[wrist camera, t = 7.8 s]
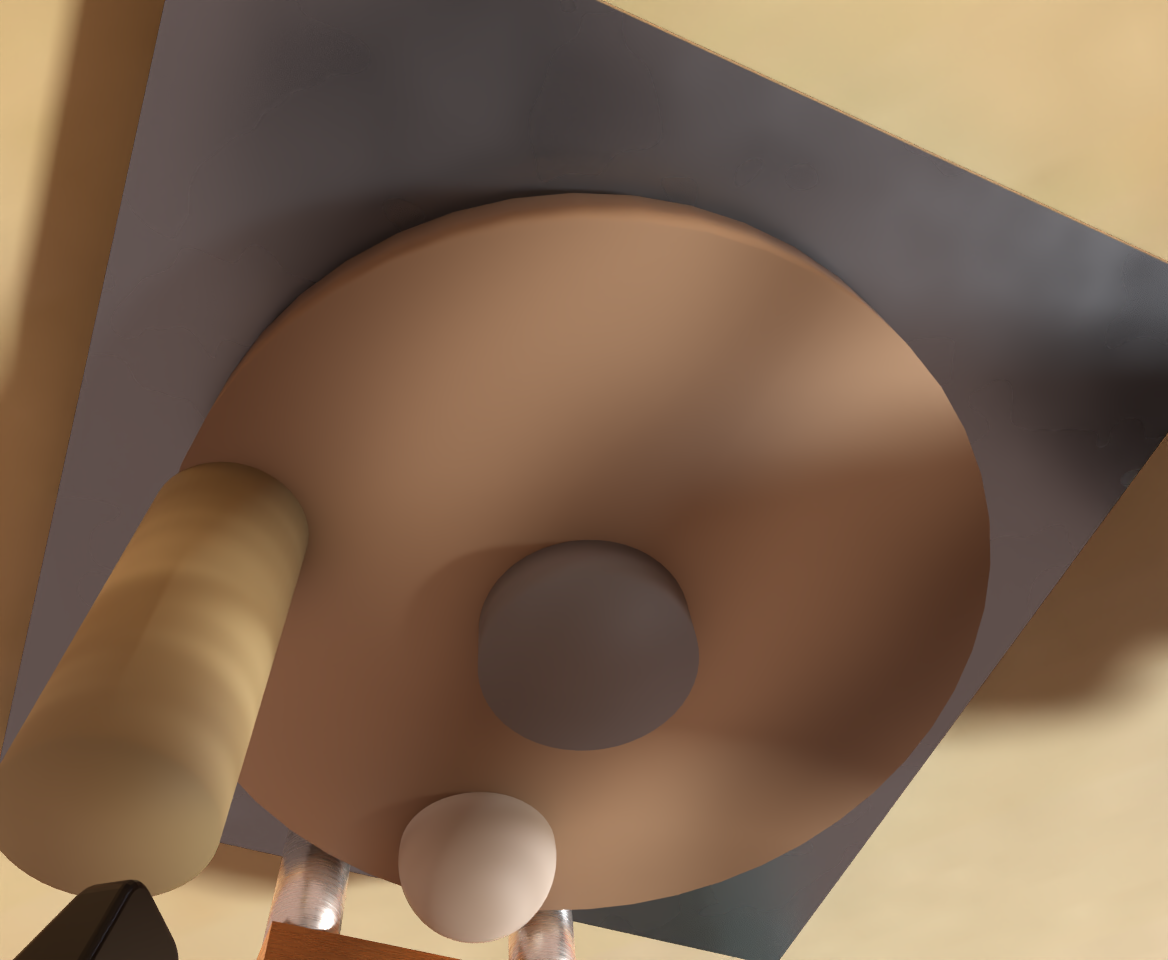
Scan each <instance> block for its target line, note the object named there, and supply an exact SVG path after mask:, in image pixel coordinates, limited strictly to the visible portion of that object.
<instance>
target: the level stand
mask: <svg viewBox="0 0 1168 960" xmlns="http://www.w3.org/2000/svg"><path fill="white" fill-rule="evenodd" d="M566 193H589V194H614V195H634V196H640V197H645V198H651V199H657V200H663V201H668V202H674V203H680V204H685V205H691V206H694V207H697V208H700V209H703V210H706V211H709V212H713V213H716V214H719V215H722V216H725V217H728V218H731V219H734V220H738V221H741V222H744V223H746V224H748V225H750V226H752V227H754V228H756V229H759V230H761V231H763V232H765V233H767V234H769V235H771V236H773V237H775V238H777V239H779V240H781V241H783V242H785V243H787V244H790V245H792V246H794V247H795V248H797V249H798V250H800V251H801V252H803V253H804V254H806V255H807V256H809V257H810V258H812V259H813V260H814V261H816V262H817V263H819V264H820V265H822V266H823V267H825V268H826V269H828V270H829V271H831V272H832V273H834V274H835V275H837V276H838V277H839V278H840V279H841V280H842V281H844V282H845V283H846V284H847V285H848V286H849V287H850V288H851V289H852V290H853V291H854V292H855V293H857V294H858V295H859V296H860V297H861V298H862V299H863V300H864V301H865V302H866V303H867V304H868V305H870V306H871V307H872V308H873V309H874V310H875V311H876V312H877V313H878V314H879V315H880V316H881V317H882V318H883V319H884V320H885V322H886V323H887V324H888V325H889V326H890V327H891V328H892V329H893V330H894V331H895V332H896V333H897V334H898V335H899V336H900V337H901V338H902V339H903V340H904V341H905V342H906V344H907V345H908V346H909V347H910V348H911V349H912V351H913V352H914V353H915V354H916V356H917V357H918V358H919V359H920V361H921V362H922V363H923V364H924V366H925V367H926V368H927V369H928V371H929V372H930V373H931V375H932V376H933V377H934V378H935V380H936V381H937V382H938V383H939V385H940V386H941V387H942V389H943V391H944V393H945V394H946V396H947V398H948V400H949V402H950V403H951V405H952V407H953V409H954V411H955V412H956V414H957V416H958V418H959V420H960V421H961V423H962V425H963V427H964V429H965V431H966V433H967V436H968V439H969V442H970V445H971V447H972V450H973V453H974V456H975V459H976V461H977V464H978V467H979V470H980V472H981V476H982V481H983V487H984V492H985V498H986V503H987V509H988V514H989V520H990V572H989V579H988V587H987V594H986V601H985V609H984V612H983V616H982V619H981V622H980V626H979V629H978V633H977V636H976V640H975V643H974V647H973V650H972V653H971V655H970V657H969V659H968V661H967V664H966V666H965V668H964V670H963V673H962V675H961V677H960V679H959V682H958V684H957V686H956V688H955V690H954V692H953V694H952V695H951V697H950V699H949V700H948V702H947V704H946V705H945V707H944V708H943V710H942V712H941V713H940V715H939V717H938V718H937V720H936V721H935V723H934V725H933V726H932V728H931V729H930V730H929V732H928V733H927V734H926V735H925V737H924V738H923V739H922V740H921V742H920V743H919V744H918V745H917V747H916V748H915V749H914V750H913V752H912V753H911V754H910V756H909V757H908V758H907V759H906V761H905V762H904V763H903V764H902V765H901V766H900V767H899V768H898V769H897V770H896V771H895V772H894V773H893V774H892V775H891V776H890V777H889V778H888V779H887V780H886V781H885V782H884V783H883V784H882V785H881V786H880V787H879V788H878V789H877V790H876V791H875V792H874V793H873V794H871V795H870V796H869V797H868V798H866V799H865V800H864V801H863V802H861V803H860V804H859V805H858V806H856V807H855V808H854V809H853V810H851V811H850V812H849V813H848V814H846V815H845V816H844V817H843V818H841V819H840V820H839V821H837V822H836V823H834V824H833V825H831V826H830V827H828V828H827V829H825V830H824V831H822V832H820V833H819V834H817V835H816V836H814V837H813V838H811V839H810V840H808V841H807V842H805V843H803V844H802V845H800V846H798V847H796V848H794V849H792V850H790V851H788V852H787V853H785V854H783V855H781V856H779V857H777V858H775V859H773V860H771V861H769V862H767V863H765V864H763V865H761V866H759V867H756V868H754V869H751V870H749V871H746V872H744V873H741V874H739V875H737V876H734V877H732V878H729V879H727V880H724V881H722V882H719V883H716V884H712V885H709V886H706V887H702V888H699V889H696V890H692V891H689V892H686V893H682V894H679V895H675V896H670V897H665V898H660V899H655V900H651V901H646V902H641V903H636V904H630V905H621V906H612V907H603V908H595V909H578V910H538V911H537V913H536V914H535V915H534V916H533V917H532V918H531V919H530V920H529V921H528V922H527V923H526V924H525V925H524V926H522V927H521V928H520V929H518V930H517V931H515V932H513V933H512V934H510V935H508V945H509V960H576V957H575V944H574V931H573V921H575V922H579V923H584V924H588V925H593V926H597V927H602V928H606V929H611V930H615V931H620V932H624V933H629V934H633V935H638V936H642V937H647V938H651V939H656V940H660V941H665V942H669V943H674V944H678V945H683V946H687V947H692V948H696V949H701V950H705V951H710V952H714V953H719V954H723V955H728V956H732V957H737V958H741V959H746V960H780V958H781V957H782V956H783V954H784V953H785V952H786V950H787V949H788V948H789V946H790V945H791V944H792V942H793V941H794V939H795V938H796V937H797V935H798V934H799V933H800V931H801V930H802V929H803V927H804V926H805V924H806V923H807V922H808V920H809V919H810V918H811V916H812V915H813V914H814V912H815V911H816V910H817V908H818V907H819V905H820V904H821V903H822V901H823V900H824V899H825V897H826V896H827V895H828V893H829V892H830V891H831V889H832V888H833V886H834V885H835V884H836V882H837V881H838V880H839V878H840V877H841V876H842V874H843V873H844V872H845V870H846V869H847V867H848V866H849V865H850V863H851V862H852V861H853V859H854V858H855V857H856V855H857V854H858V853H859V851H860V850H861V848H862V847H863V846H864V844H865V843H866V842H867V840H868V839H869V838H870V836H871V835H872V834H873V832H874V831H875V829H876V828H877V827H878V825H879V824H880V823H881V821H882V820H883V819H884V817H885V816H886V815H887V813H888V812H889V810H890V809H891V808H892V806H893V805H894V804H895V802H896V801H897V800H898V798H899V797H900V796H901V794H902V793H903V791H904V790H905V789H906V787H907V786H908V785H909V783H910V782H911V781H912V779H913V778H914V777H915V775H916V774H917V772H918V771H919V770H920V768H921V767H922V766H923V764H924V763H925V762H926V760H927V759H928V757H929V756H930V755H931V753H932V752H933V751H934V749H935V748H936V747H937V745H938V744H939V743H940V741H941V740H942V738H943V737H944V736H945V734H946V733H947V732H948V730H949V729H950V728H951V726H952V725H953V724H954V722H955V721H956V719H957V718H958V717H959V715H960V714H961V713H962V711H963V710H964V709H965V707H966V706H967V705H968V703H969V702H970V700H971V699H972V698H973V696H974V695H975V694H976V692H977V691H978V690H979V688H980V687H981V686H982V684H983V683H984V681H985V680H986V679H987V677H988V676H989V675H990V673H991V672H992V671H993V669H994V668H995V667H996V665H997V664H998V662H999V661H1000V660H1001V658H1002V657H1003V656H1004V654H1005V653H1006V652H1007V650H1008V649H1009V648H1010V646H1011V645H1012V643H1013V642H1014V641H1015V639H1016V638H1017V637H1018V635H1019V634H1020V633H1021V631H1022V630H1023V629H1024V627H1025V626H1026V624H1027V623H1028V622H1029V620H1030V619H1031V618H1032V616H1033V615H1034V614H1035V612H1036V611H1037V609H1038V608H1039V607H1040V605H1041V604H1042V603H1043V601H1044V600H1045V599H1046V597H1047V596H1048V595H1049V593H1050V592H1051V590H1052V589H1053V588H1054V586H1055V585H1056V584H1057V582H1058V581H1059V580H1060V578H1061V577H1062V576H1063V574H1064V573H1065V571H1066V570H1067V569H1068V567H1069V566H1070V565H1071V563H1072V562H1073V561H1074V559H1075V558H1076V557H1077V555H1078V554H1079V552H1080V551H1081V550H1082V548H1083V547H1084V546H1085V544H1086V543H1087V542H1088V540H1089V539H1090V538H1091V536H1092V535H1093V533H1094V532H1095V531H1096V529H1097V528H1098V527H1099V525H1100V524H1101V523H1102V521H1103V520H1104V519H1105V517H1106V516H1107V514H1108V513H1109V512H1110V510H1111V509H1112V508H1113V506H1114V505H1115V504H1116V502H1117V501H1118V500H1119V498H1120V497H1121V495H1122V494H1123V493H1124V491H1125V490H1126V489H1127V487H1128V486H1129V485H1130V483H1131V482H1132V481H1133V479H1134V478H1135V476H1136V475H1137V474H1138V472H1139V471H1140V470H1141V468H1142V467H1143V466H1144V464H1145V463H1146V462H1147V460H1148V459H1149V457H1150V456H1151V455H1152V453H1153V452H1154V451H1155V449H1156V448H1157V447H1158V445H1159V444H1160V442H1161V441H1162V440H1163V438H1164V437H1165V436H1166V434H1167V433H1168V261H1166V260H1164V259H1162V258H1159V257H1157V256H1155V255H1153V254H1151V253H1149V252H1146V251H1144V250H1142V249H1140V248H1138V247H1136V246H1133V245H1131V244H1129V243H1127V242H1125V241H1123V240H1120V239H1118V238H1116V237H1114V236H1112V235H1110V234H1107V233H1105V232H1103V231H1101V230H1099V229H1097V228H1094V227H1092V226H1090V225H1088V224H1086V223H1084V222H1081V221H1079V220H1077V219H1075V218H1073V217H1071V216H1068V215H1066V214H1064V213H1062V212H1060V211H1058V210H1055V209H1053V208H1051V207H1049V206H1047V205H1045V204H1042V203H1040V202H1038V201H1036V200H1034V199H1032V198H1029V197H1027V196H1025V195H1023V194H1021V193H1019V192H1016V191H1014V190H1012V189H1010V188H1008V187H1006V186H1003V185H1001V184H999V183H997V182H995V181H993V180H990V179H988V178H986V177H984V176H982V175H980V174H977V173H975V172H973V171H971V170H969V169H967V168H964V167H962V166H960V165H958V164H956V163H954V162H951V161H949V160H947V159H945V158H943V157H941V156H938V155H936V154H934V153H932V152H930V151H928V150H925V149H923V148H921V147H919V146H917V145H915V144H912V143H910V142H908V141H906V140H904V139H902V138H899V137H897V136H895V135H893V134H891V133H889V132H886V131H884V130H882V129H880V128H878V127H876V126H873V125H871V124H869V123H867V122H865V121H863V120H860V119H858V118H856V117H854V116H852V115H850V114H847V113H845V112H843V111H841V110H839V109H837V108H834V107H832V106H830V105H828V104H826V103H824V102H821V101H819V100H817V99H815V98H813V97H811V96H808V95H806V94H804V93H802V92H800V91H798V90H795V89H793V88H791V87H789V86H787V85H785V84H782V83H780V82H778V81H776V80H774V79H772V78H769V77H767V76H765V75H763V74H761V73H759V72H756V71H754V70H752V69H750V68H748V67H746V66H743V65H741V64H739V63H737V62H735V61H733V60H730V59H728V58H726V57H724V56H722V55H720V54H717V53H715V52H713V51H711V50H709V49H707V48H704V47H702V46H700V45H698V44H696V43H694V42H691V41H689V40H687V39H685V38H683V37H681V36H678V35H676V34H674V33H672V32H670V31H668V30H665V29H663V28H661V27H659V26H657V25H655V24H652V23H650V22H648V21H646V20H644V19H642V18H639V17H637V16H635V15H633V14H631V13H629V12H626V11H624V10H622V9H620V8H618V7H616V6H613V5H611V4H609V3H607V2H605V1H603V0H165V3H164V8H163V13H162V17H161V22H160V26H159V31H158V36H157V40H156V45H155V49H154V54H153V58H152V63H151V68H150V72H149V77H148V81H147V86H146V91H145V95H144V100H143V104H142V109H141V114H140V118H139V123H138V127H137V132H136V137H135V141H134V146H133V150H132V155H131V159H130V164H129V169H128V173H127V178H126V182H125V187H124V192H123V196H122V201H121V205H120V210H119V215H118V219H117V224H116V228H115V233H114V238H113V242H112V247H111V251H110V256H109V261H108V265H107V270H106V274H105V279H104V283H103V288H102V293H101V297H100V302H99V306H98V311H97V316H96V320H95V325H94V329H93V334H92V339H91V343H90V348H89V352H88V357H87V362H86V366H85V371H84V375H83V380H82V384H81V389H80V394H79V398H78V403H77V407H76V412H75V417H74V421H73V426H72V430H71V435H70V440H69V444H68V449H67V453H66V458H65V463H64V467H63V472H62V476H61V481H60V485H59V490H58V495H57V499H56V504H55V508H54V513H53V518H52V522H51V527H50V531H49V536H48V541H47V545H46V550H45V554H44V559H43V564H42V568H41V573H40V577H39V582H38V586H37V591H36V596H35V600H34V605H33V609H32V614H31V619H30V623H29V628H28V632H27V637H26V642H25V646H24V651H23V655H22V660H21V665H20V669H19V674H18V678H17V683H16V688H15V692H14V697H13V701H12V706H11V710H10V715H9V720H8V724H7V729H6V733H5V738H4V743H3V747H2V752H1V756H0V763H1V762H2V760H3V758H4V756H5V755H6V753H7V751H8V750H9V748H10V746H11V744H12V743H13V741H14V739H15V738H16V736H17V734H18V732H19V731H20V729H21V727H22V726H23V724H24V722H25V720H26V719H27V717H28V715H29V714H30V712H31V710H32V708H33V707H34V705H35V703H36V702H37V700H38V698H39V696H40V695H41V693H42V691H43V690H44V688H45V686H46V684H47V683H48V681H49V679H50V678H51V676H52V674H53V672H54V671H55V669H56V667H57V666H58V664H59V662H60V660H61V659H62V657H63V655H64V654H65V652H66V650H67V648H68V647H69V645H70V643H71V642H72V640H73V638H74V636H75V635H76V633H77V631H78V630H79V628H80V626H81V624H82V623H83V621H84V619H85V618H86V616H87V614H88V612H89V611H90V609H91V607H92V606H93V604H94V602H95V600H96V599H97V597H98V595H99V594H100V592H101V590H102V588H103V587H104V585H105V583H106V581H107V580H108V578H109V576H110V575H111V573H112V571H113V569H114V568H115V566H116V564H117V563H118V561H119V559H120V557H121V556H122V554H123V552H124V551H125V549H126V547H127V545H128V544H129V542H130V540H131V539H132V537H133V535H134V533H135V532H136V530H137V528H138V527H139V525H140V523H141V521H142V520H143V518H144V516H145V515H146V513H147V511H148V509H149V508H150V506H151V504H152V503H153V501H154V499H155V497H156V496H157V494H158V492H159V491H160V490H161V488H162V487H163V486H164V484H165V483H166V482H167V481H169V480H170V479H171V478H172V477H173V476H175V475H176V474H178V473H179V470H180V467H181V464H182V462H183V460H184V458H185V456H186V454H187V452H188V450H189V449H190V447H191V445H192V443H193V441H194V439H195V437H196V435H197V434H198V432H199V430H200V428H201V426H202V424H203V422H204V420H205V419H206V417H207V415H208V413H209V411H210V410H211V408H212V406H213V404H214V403H215V401H216V399H217V397H218V396H219V394H220V392H221V391H222V389H223V387H224V385H225V384H226V382H227V380H228V378H229V377H230V375H231V373H232V372H233V371H234V369H235V368H236V367H237V365H238V364H239V363H240V361H241V360H242V359H243V357H244V356H245V355H246V353H247V352H248V351H249V349H250V348H251V347H252V345H253V344H254V343H255V341H256V340H257V339H258V337H259V336H260V335H261V333H262V332H263V331H264V330H265V329H266V328H267V327H268V326H269V325H270V324H271V323H272V322H273V321H274V320H275V319H276V318H277V317H278V316H279V315H280V314H281V313H282V312H283V311H284V310H285V309H286V308H287V307H288V306H289V305H290V304H291V303H292V302H294V301H295V300H296V299H297V298H298V297H299V296H300V295H301V294H302V293H303V292H305V291H306V290H307V289H309V288H310V287H311V286H313V285H314V284H315V283H317V282H318V281H319V280H321V279H322V278H324V277H325V276H326V275H328V274H329V273H330V272H332V271H333V270H334V269H336V268H337V267H339V266H340V265H341V264H343V263H344V262H345V261H347V260H349V259H350V258H352V257H354V256H356V255H358V254H360V253H362V252H363V251H365V250H367V249H369V248H371V247H373V246H374V245H376V244H378V243H380V242H382V241H384V240H386V239H387V238H389V237H391V236H393V235H395V234H397V233H399V232H402V231H404V230H407V229H410V228H412V227H415V226H418V225H420V224H423V223H426V222H428V221H431V220H434V219H436V218H439V217H442V216H444V215H447V214H450V213H452V212H456V211H460V210H464V209H469V208H473V207H477V206H482V205H486V204H491V203H495V202H499V201H504V200H508V199H512V198H523V197H534V196H544V195H555V194H566ZM220 843H224V844H229V845H233V846H238V847H242V848H247V849H251V850H256V851H260V852H265V853H269V854H274V855H278V856H282V861H281V865H280V869H279V874H278V878H277V883H276V887H275V891H274V896H273V900H272V905H271V909H270V914H269V918H268V922H267V927H266V931H265V936H264V940H263V944H262V948H261V950H260V953H259V955H258V957H257V960H460V959H455V958H450V957H445V956H441V955H436V954H431V953H426V952H421V951H416V950H411V949H407V948H402V947H397V946H392V945H387V944H382V943H378V942H373V941H368V940H363V939H358V938H353V937H349V936H344V935H340V930H341V924H342V917H343V910H344V904H345V897H346V891H347V884H348V878H349V871H350V872H355V873H359V874H364V875H368V876H373V875H370V874H368V873H366V872H364V871H362V870H360V869H358V868H356V867H354V866H351V865H349V864H347V863H345V862H343V861H341V860H339V859H337V858H335V857H333V856H331V855H329V854H327V853H326V852H324V851H323V850H321V849H319V848H318V847H316V846H315V845H313V844H312V843H310V842H309V841H307V840H305V839H304V838H302V837H301V836H299V835H298V834H296V833H294V832H293V831H291V830H290V829H289V828H287V827H286V826H285V825H284V824H283V823H281V822H280V821H279V820H278V819H276V818H275V817H274V816H273V815H272V814H270V813H269V812H268V811H267V810H266V809H264V808H263V807H262V806H261V805H259V804H258V803H257V802H256V801H255V800H254V799H253V798H252V797H251V796H250V795H249V794H248V793H247V792H246V791H245V790H244V788H243V787H242V786H241V785H240V784H239V783H238V782H237V785H236V788H235V792H234V795H233V799H232V802H231V805H230V809H229V812H228V815H227V819H226V822H225V825H224V829H223V832H222V836H221V839H220ZM373 877H376V876H373ZM377 878H379V877H377Z"/></svg>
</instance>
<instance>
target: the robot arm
mask: <svg viewBox="0 0 1168 960" xmlns="http://www.w3.org/2000/svg"><path fill="white" fill-rule="evenodd" d="M13 960H178V952H177V948H176V944H175V942H174V939H173V937H172V935H171V933H170V931H169V929H168V927H167V925H166V923H165V921H164V919H163V918H162V916H161V914H160V912H159V910H158V908H157V906H156V904H155V902H154V900H153V898H152V896H151V894H150V892H149V890H148V889H147V887H146V886H145V885H144V884H143V883H142V882H140V881H138V880H133V879H130V880H123V881H116V882H109V883H103V884H96V885H92V886H90V887H87V888H86V889H84V890H83V891H82V892H80V893H79V894H78V895H77V896H76V897H75V898H74V899H73V900H72V901H71V902H70V903H69V904H68V905H67V906H66V907H65V908H64V909H63V910H62V911H61V912H60V913H59V914H58V915H57V916H56V917H55V918H54V919H53V920H52V921H51V922H50V923H49V924H48V925H47V926H46V927H45V928H44V929H43V930H42V931H41V932H40V933H39V934H38V935H37V936H36V937H35V938H34V939H33V940H32V941H31V942H30V943H29V944H28V945H27V946H26V947H25V948H24V949H23V950H22V951H21V952H20V953H19V954H18V955H17V956H16V957H15V958H14V959H13Z"/></svg>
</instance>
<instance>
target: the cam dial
mask: <svg viewBox="0 0 1168 960" xmlns="http://www.w3.org/2000/svg"><path fill="white" fill-rule="evenodd" d="M989 572H990V520H989V514H988V509H987V503H986V498H985V492H984V487H983V481H982V476H981V472H980V470H979V467H978V464H977V461H976V459H975V456H974V453H973V450H972V447H971V445H970V442H969V439H968V436H967V433H966V431H965V429H964V427H963V425H962V423H961V421H960V420H959V418H958V416H957V414H956V412H955V411H954V409H953V407H952V405H951V403H950V402H949V400H948V398H947V396H946V394H945V393H944V391H943V389H942V387H941V386H940V385H939V383H938V382H937V381H936V380H935V378H934V377H933V376H932V375H931V373H930V372H929V371H928V369H927V368H926V367H925V366H924V364H923V363H922V362H921V361H920V359H919V358H918V357H917V356H916V354H915V353H914V352H913V351H912V349H911V348H910V347H909V346H908V345H907V344H906V342H905V341H904V340H903V339H902V338H901V337H900V336H899V335H898V334H897V333H896V332H895V331H894V330H893V329H892V328H891V327H890V326H889V325H888V324H887V323H886V322H885V320H884V319H883V318H882V317H881V316H880V315H879V314H878V313H877V312H876V311H875V310H874V309H873V308H872V307H871V306H870V305H868V304H867V303H866V302H865V301H864V300H863V299H862V298H861V297H860V296H859V295H858V294H857V293H855V292H854V291H853V290H852V289H851V288H850V287H849V286H848V285H847V284H846V283H845V282H844V281H842V280H841V279H840V278H839V277H838V276H837V275H835V274H834V273H832V272H831V271H829V270H828V269H826V268H825V267H823V266H822V265H820V264H819V263H817V262H816V261H814V260H813V259H812V258H810V257H809V256H807V255H806V254H804V253H803V252H801V251H800V250H798V249H797V248H795V247H794V246H792V245H790V244H787V243H785V242H783V241H781V240H779V239H777V238H775V237H773V236H771V235H769V234H767V233H765V232H763V231H761V230H759V229H756V228H754V227H752V226H750V225H748V224H746V223H744V222H741V221H738V220H734V219H731V218H728V217H725V216H722V215H719V214H716V213H713V212H709V211H706V210H703V209H700V208H697V207H694V206H691V205H685V204H680V203H674V202H668V201H663V200H657V199H651V198H645V197H640V196H634V195H614V194H589V193H566V194H555V195H544V196H534V197H523V198H512V199H508V200H504V201H499V202H495V203H491V204H486V205H482V206H477V207H473V208H469V209H464V210H460V211H456V212H452V213H450V214H447V215H444V216H442V217H439V218H436V219H434V220H431V221H428V222H426V223H423V224H420V225H418V226H415V227H412V228H410V229H407V230H404V231H402V232H399V233H397V234H395V235H393V236H391V237H389V238H387V239H386V240H384V241H382V242H380V243H378V244H376V245H374V246H373V247H371V248H369V249H367V250H365V251H363V252H362V253H360V254H358V255H356V256H354V257H352V258H350V259H349V260H347V261H345V262H344V263H343V264H341V265H340V266H339V267H337V268H336V269H334V270H333V271H332V272H330V273H329V274H328V275H326V276H325V277H324V278H322V279H321V280H319V281H318V282H317V283H315V284H314V285H313V286H311V287H310V288H309V289H307V290H306V291H305V292H303V293H302V294H301V295H300V296H299V297H298V298H297V299H296V300H295V301H294V302H292V303H291V304H290V305H289V306H288V307H287V308H286V309H285V310H284V311H283V312H282V313H281V314H280V315H279V316H278V317H277V318H276V319H275V320H274V321H273V322H272V323H271V324H270V325H269V326H268V327H267V328H266V329H265V330H264V331H263V332H262V333H261V335H260V336H259V337H258V339H257V340H256V341H255V343H254V344H253V345H252V347H251V348H250V349H249V351H248V352H247V353H246V355H245V356H244V357H243V359H242V360H241V361H240V363H239V364H238V365H237V367H236V368H235V369H234V371H233V372H232V373H231V375H230V377H229V378H228V380H227V382H226V384H225V385H224V387H223V389H222V391H221V392H220V394H219V396H218V397H217V399H216V401H215V403H214V404H213V406H212V408H211V410H210V411H209V413H208V415H207V417H206V419H205V420H204V422H203V424H202V426H201V428H200V430H199V432H198V434H197V435H196V437H195V439H194V441H193V443H192V445H191V447H190V449H189V450H188V452H187V454H186V456H185V458H184V460H183V462H182V464H181V467H180V470H179V473H178V474H176V475H175V476H173V477H172V478H171V479H170V480H169V481H167V482H166V483H165V484H164V486H163V487H162V488H161V490H160V491H159V492H158V494H157V496H156V497H155V499H154V501H153V503H152V504H151V506H150V508H149V509H148V511H147V513H146V515H145V516H144V518H143V520H142V521H141V523H140V525H139V527H138V528H137V530H136V532H135V533H134V535H133V537H132V539H131V540H130V542H129V544H128V545H127V547H126V549H125V551H124V552H123V554H122V556H121V557H120V559H119V561H118V563H117V564H116V566H115V568H114V569H113V571H112V573H111V575H110V576H109V578H108V580H107V581H106V583H105V585H104V587H103V588H102V590H101V592H100V594H99V595H98V597H97V599H96V600H95V602H94V604H93V606H92V607H91V609H90V611H89V612H88V614H87V616H86V618H85V619H84V621H83V623H82V624H81V626H80V628H79V630H78V631H77V633H76V635H75V636H74V638H73V640H72V642H71V643H70V645H69V647H68V648H67V650H66V652H65V654H64V655H63V657H62V659H61V660H60V662H59V664H58V666H57V667H56V669H55V671H54V672H53V674H52V676H51V678H50V679H49V681H48V683H47V684H46V686H45V688H44V690H43V691H42V693H41V695H40V696H39V698H38V700H37V702H36V703H35V705H34V707H33V708H32V710H31V712H30V714H29V715H28V717H27V719H26V720H25V722H24V724H23V726H22V727H21V729H20V731H19V732H18V734H17V736H16V738H15V739H14V741H13V743H12V744H11V746H10V748H9V750H8V751H7V753H6V755H5V756H4V758H3V760H2V762H1V763H0V850H1V852H2V853H3V854H4V855H5V856H6V857H7V858H8V859H9V860H10V861H11V862H12V863H13V864H15V865H16V866H17V867H18V868H19V869H21V870H22V871H24V872H25V873H27V874H28V875H30V876H31V877H33V878H35V879H37V880H38V881H40V882H42V883H44V884H47V885H49V886H51V887H54V888H56V889H59V890H62V891H65V892H68V893H71V894H75V895H78V894H79V893H80V892H82V891H83V890H84V889H86V888H87V887H90V886H92V885H96V884H103V883H109V882H116V881H123V880H130V879H133V880H138V881H140V882H142V883H143V884H144V885H145V886H146V887H147V889H148V890H149V892H150V894H151V896H155V895H159V894H162V893H165V892H168V891H171V890H173V889H176V888H178V887H180V886H182V885H184V884H185V883H187V882H189V881H190V880H192V879H193V878H194V877H196V876H197V875H198V874H200V873H201V872H202V871H203V870H204V869H205V867H206V866H207V865H208V864H209V863H210V861H211V860H212V858H213V857H214V855H215V853H216V850H217V848H218V846H219V842H220V839H221V836H222V832H223V829H224V825H225V822H226V819H227V815H228V812H229V809H230V805H231V802H232V799H233V795H234V792H235V788H236V785H237V782H238V783H239V784H240V785H241V786H242V787H243V788H244V790H245V791H246V792H247V793H248V794H249V795H250V796H251V797H252V798H253V799H254V800H255V801H256V802H257V803H258V804H259V805H261V806H262V807H263V808H264V809H266V810H267V811H268V812H269V813H270V814H272V815H273V816H274V817H275V818H276V819H278V820H279V821H280V822H281V823H283V824H284V825H285V826H286V827H287V828H289V829H290V830H291V831H293V832H294V833H296V834H298V835H299V836H301V837H302V838H304V839H305V840H307V841H309V842H310V843H312V844H313V845H315V846H316V847H318V848H319V849H321V850H323V851H324V852H326V853H327V854H329V855H331V856H333V857H335V858H337V859H339V860H341V861H343V862H345V863H347V864H349V865H351V866H354V867H356V868H358V869H360V870H362V871H364V872H366V873H368V874H370V875H373V876H376V877H379V878H381V879H384V880H387V881H389V882H392V883H395V884H398V885H400V886H402V889H403V892H404V895H405V897H406V899H407V901H408V903H409V905H410V906H411V908H412V910H413V911H414V913H415V914H416V915H417V916H418V917H419V918H420V919H421V921H422V922H423V923H424V924H426V925H427V926H428V927H429V928H431V929H432V930H433V931H435V932H437V933H438V934H440V935H442V936H444V937H447V938H450V939H452V940H455V941H459V942H465V943H484V942H490V941H494V940H497V939H500V938H503V937H505V936H508V935H510V934H512V933H513V932H515V931H517V930H518V929H520V928H521V927H522V926H524V925H525V924H526V923H527V922H528V921H529V920H530V919H531V918H532V917H533V916H534V915H535V914H536V913H537V911H538V910H578V909H595V908H603V907H612V906H621V905H630V904H636V903H641V902H646V901H651V900H655V899H660V898H665V897H670V896H675V895H679V894H682V893H686V892H689V891H692V890H696V889H699V888H702V887H706V886H709V885H712V884H716V883H719V882H722V881H724V880H727V879H729V878H732V877H734V876H737V875H739V874H741V873H744V872H746V871H749V870H751V869H754V868H756V867H759V866H761V865H763V864H765V863H767V862H769V861H771V860H773V859H775V858H777V857H779V856H781V855H783V854H785V853H787V852H788V851H790V850H792V849H794V848H796V847H798V846H800V845H802V844H803V843H805V842H807V841H808V840H810V839H811V838H813V837H814V836H816V835H817V834H819V833H820V832H822V831H824V830H825V829H827V828H828V827H830V826H831V825H833V824H834V823H836V822H837V821H839V820H840V819H841V818H843V817H844V816H845V815H846V814H848V813H849V812H850V811H851V810H853V809H854V808H855V807H856V806H858V805H859V804H860V803H861V802H863V801H864V800H865V799H866V798H868V797H869V796H870V795H871V794H873V793H874V792H875V791H876V790H877V789H878V788H879V787H880V786H881V785H882V784H883V783H884V782H885V781H886V780H887V779H888V778H889V777H890V776H891V775H892V774H893V773H894V772H895V771H896V770H897V769H898V768H899V767H900V766H901V765H902V764H903V763H904V762H905V761H906V759H907V758H908V757H909V756H910V754H911V753H912V752H913V750H914V749H915V748H916V747H917V745H918V744H919V743H920V742H921V740H922V739H923V738H924V737H925V735H926V734H927V733H928V732H929V730H930V729H931V728H932V726H933V725H934V723H935V721H936V720H937V718H938V717H939V715H940V713H941V712H942V710H943V708H944V707H945V705H946V704H947V702H948V700H949V699H950V697H951V695H952V694H953V692H954V690H955V688H956V686H957V684H958V682H959V679H960V677H961V675H962V673H963V670H964V668H965V666H966V664H967V661H968V659H969V657H970V655H971V653H972V650H973V647H974V643H975V640H976V636H977V633H978V629H979V626H980V622H981V619H982V616H983V612H984V609H985V601H986V594H987V587H988V579H989Z"/></svg>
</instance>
